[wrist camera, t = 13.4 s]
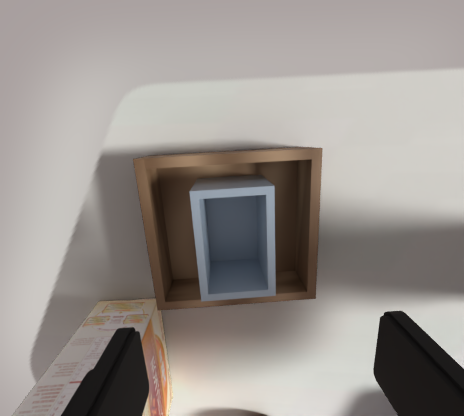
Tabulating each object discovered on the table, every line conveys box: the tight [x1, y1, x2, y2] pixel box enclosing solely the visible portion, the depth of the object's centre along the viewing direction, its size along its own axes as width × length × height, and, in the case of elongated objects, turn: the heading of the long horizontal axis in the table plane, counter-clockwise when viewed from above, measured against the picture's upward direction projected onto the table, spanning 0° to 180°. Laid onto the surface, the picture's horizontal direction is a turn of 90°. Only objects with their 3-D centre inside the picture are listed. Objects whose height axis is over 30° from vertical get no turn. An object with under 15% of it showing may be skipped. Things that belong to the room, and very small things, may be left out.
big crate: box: [133, 147, 322, 310], centre depth 23 cm, size 15×14×4 cm
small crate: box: [189, 175, 276, 302], centre depth 21 cm, size 6×9×6 cm, turn 3°
